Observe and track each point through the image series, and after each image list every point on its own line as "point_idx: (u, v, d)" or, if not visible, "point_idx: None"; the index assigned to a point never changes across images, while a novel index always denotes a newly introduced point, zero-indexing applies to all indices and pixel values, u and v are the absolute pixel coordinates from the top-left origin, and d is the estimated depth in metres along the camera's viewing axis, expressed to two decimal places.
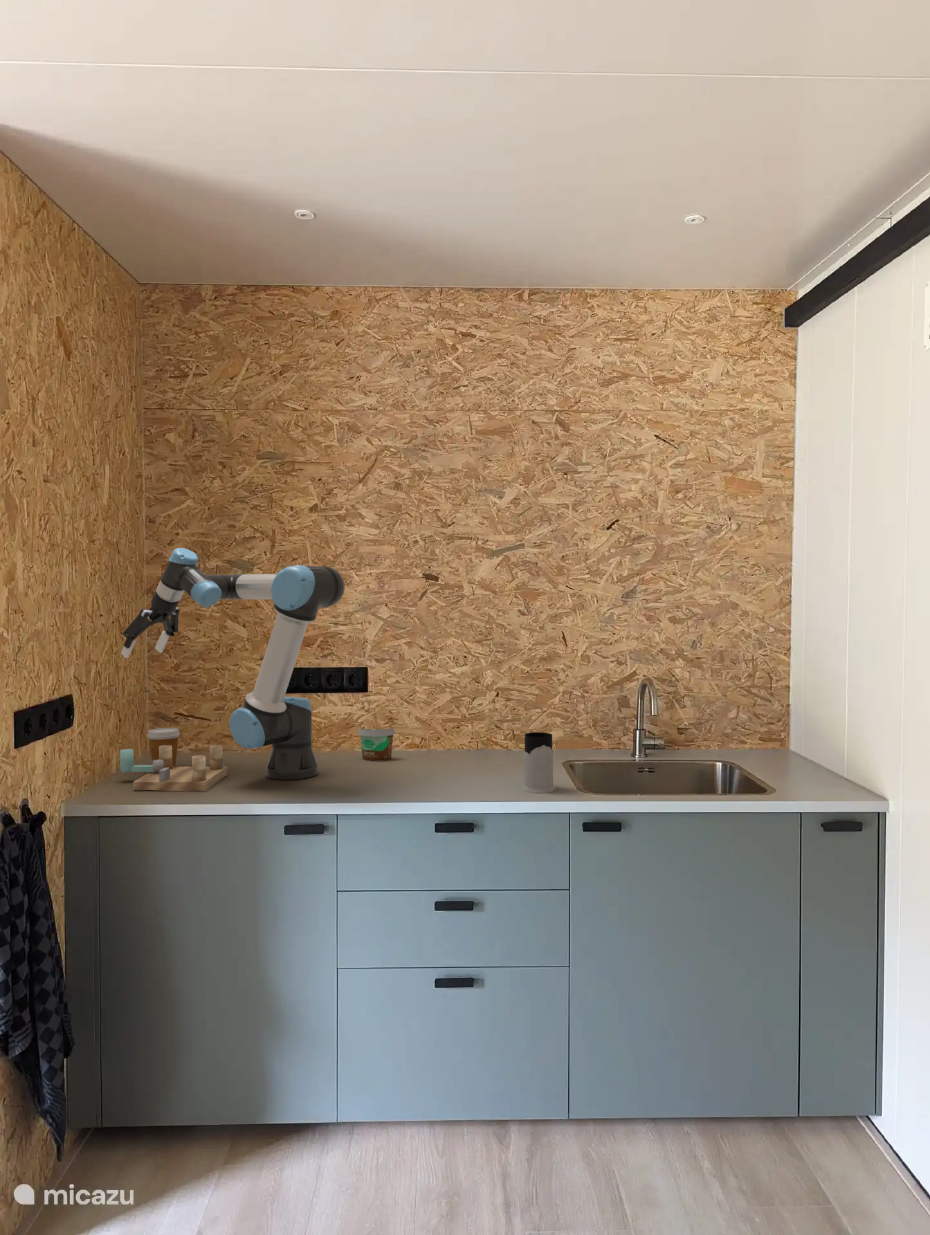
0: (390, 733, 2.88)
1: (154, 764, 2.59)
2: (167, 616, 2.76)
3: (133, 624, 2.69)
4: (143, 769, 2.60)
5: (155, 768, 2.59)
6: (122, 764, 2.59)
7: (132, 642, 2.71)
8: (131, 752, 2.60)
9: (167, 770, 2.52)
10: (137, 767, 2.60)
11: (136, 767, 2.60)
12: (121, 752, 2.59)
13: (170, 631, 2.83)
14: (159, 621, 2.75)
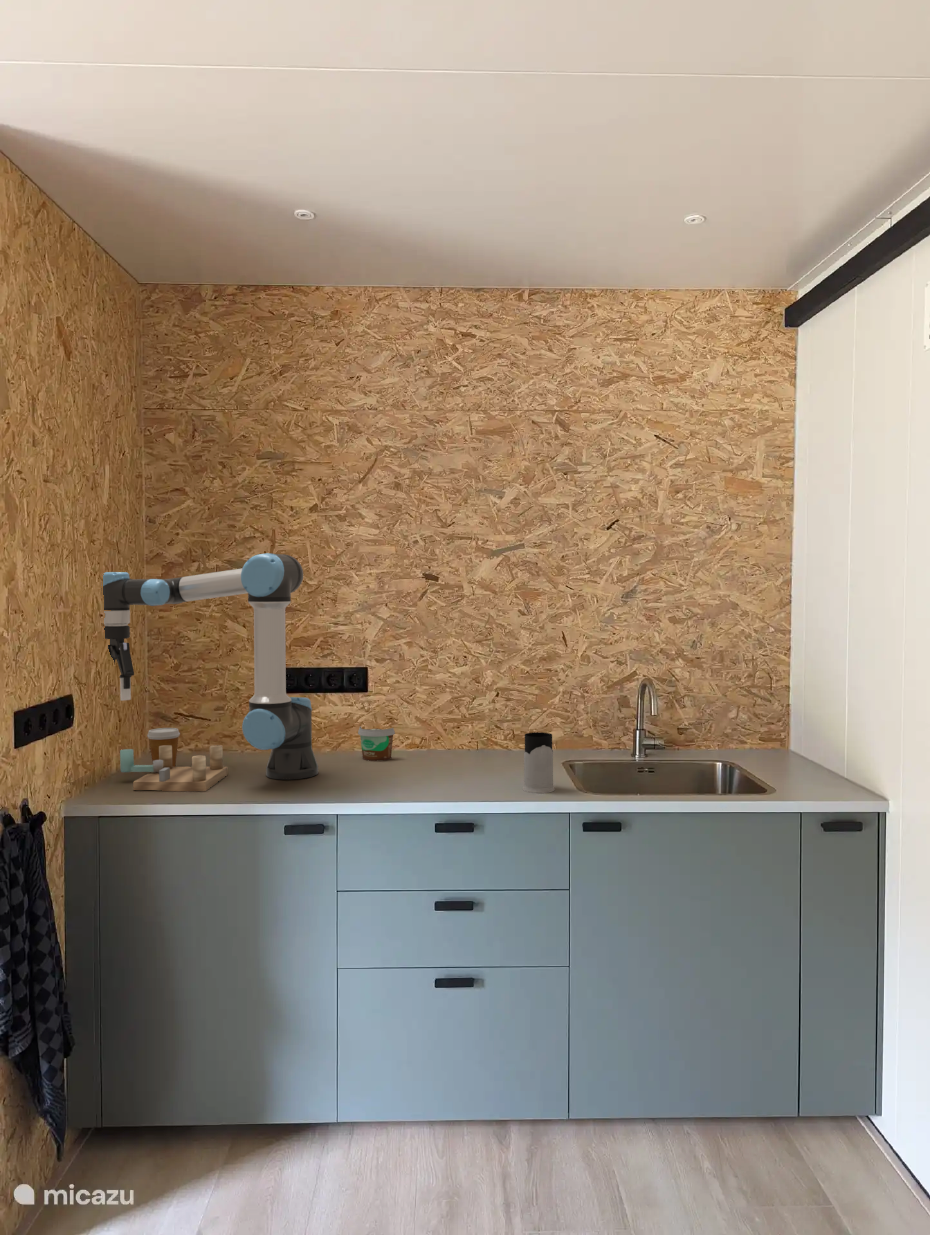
0: (390, 733, 2.88)
1: (154, 764, 2.59)
2: None
3: (126, 660, 2.59)
4: (143, 769, 2.60)
5: (155, 768, 2.59)
6: (122, 764, 2.59)
7: None
8: (131, 752, 2.60)
9: (167, 770, 2.52)
10: (137, 767, 2.60)
11: (136, 767, 2.60)
12: (121, 752, 2.59)
13: None
14: None
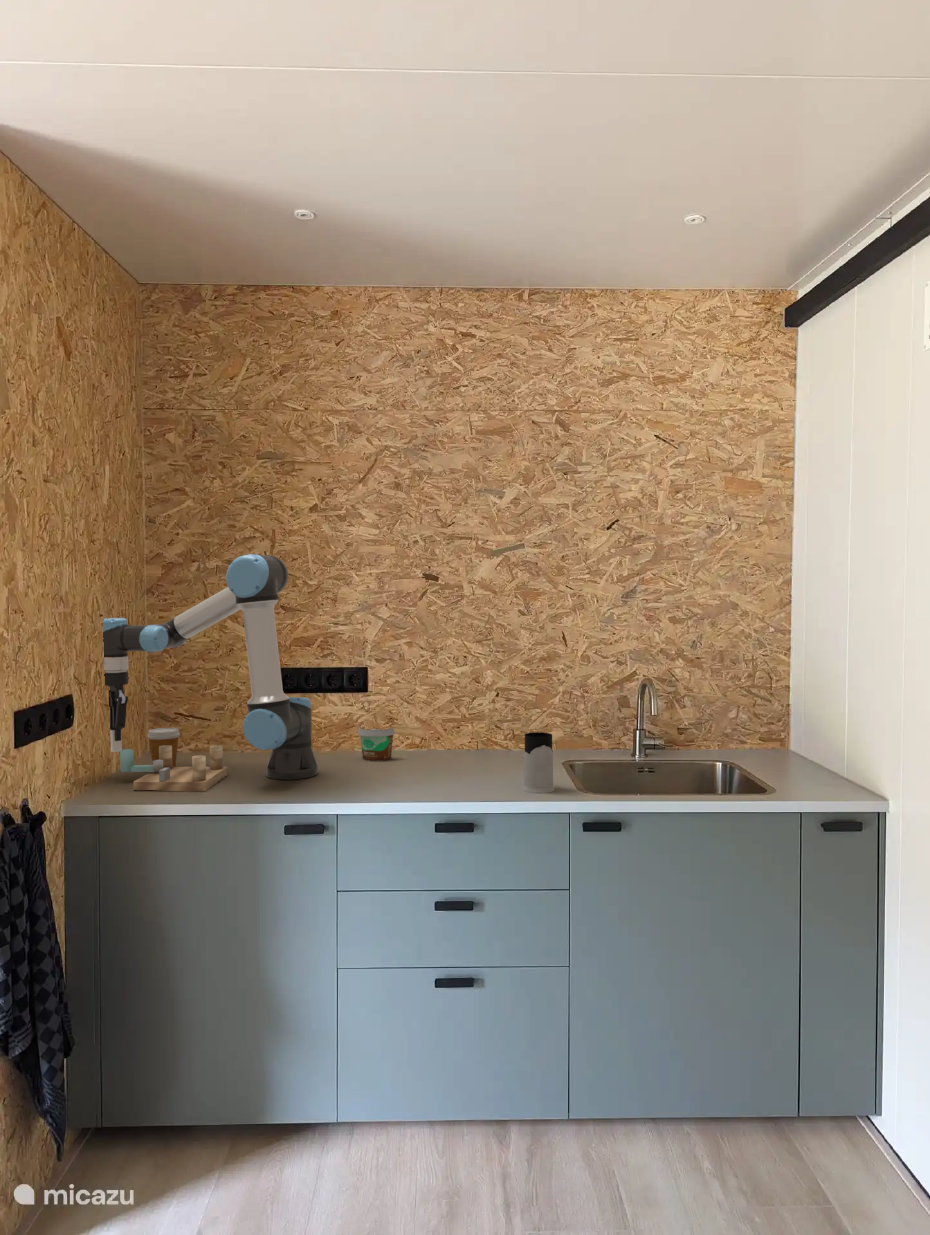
0: (390, 733, 2.88)
1: (154, 764, 2.59)
2: None
3: (120, 714, 2.62)
4: (143, 769, 2.60)
5: (155, 768, 2.59)
6: (122, 764, 2.59)
7: None
8: (131, 752, 2.60)
9: (167, 770, 2.52)
10: (137, 767, 2.60)
11: (136, 767, 2.60)
12: (121, 752, 2.59)
13: None
14: None
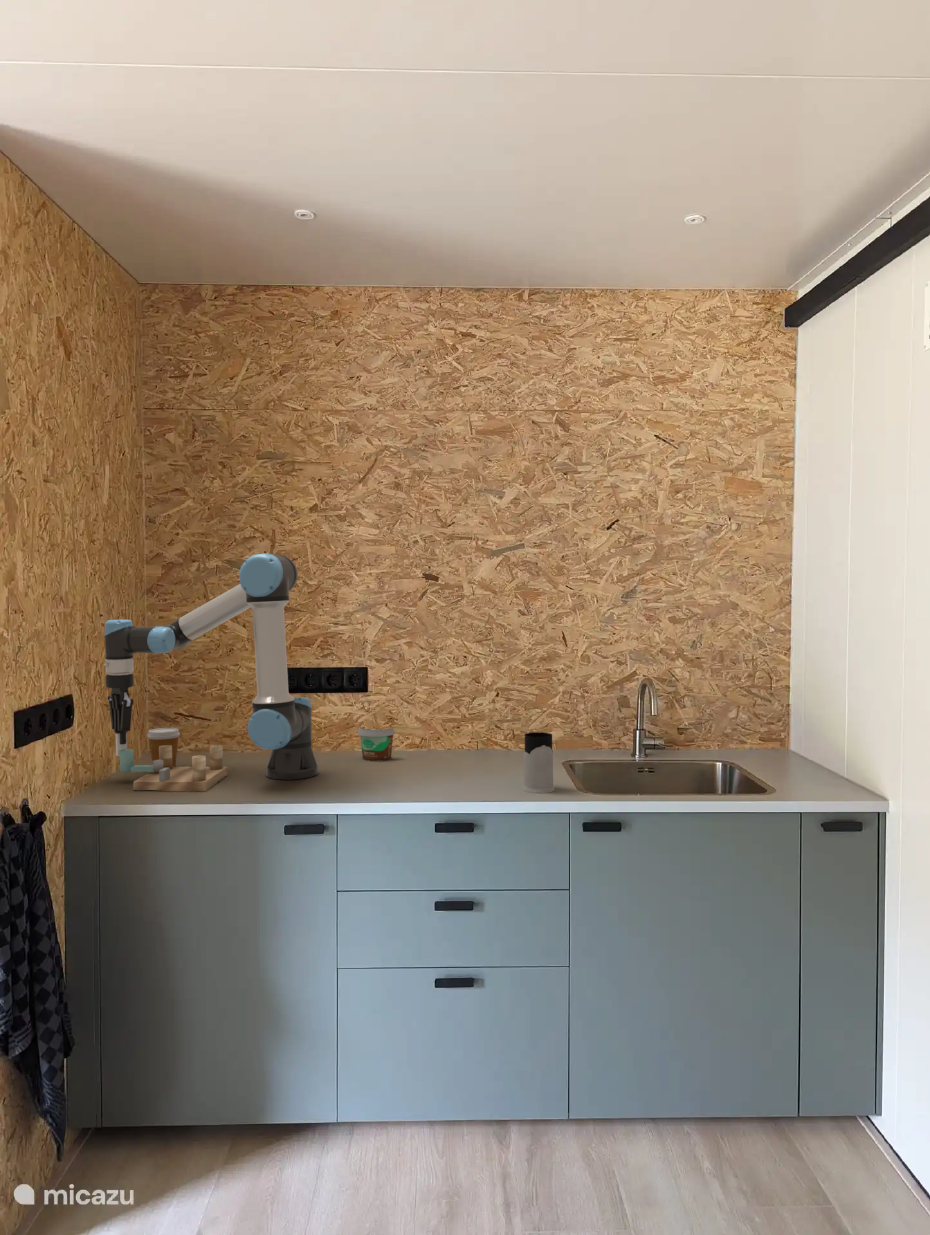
0: (390, 733, 2.88)
1: (154, 764, 2.59)
2: None
3: (125, 717, 2.58)
4: (143, 769, 2.60)
5: (155, 768, 2.59)
6: (122, 764, 2.59)
7: None
8: (131, 752, 2.60)
9: (167, 770, 2.52)
10: (137, 767, 2.60)
11: (136, 767, 2.60)
12: (121, 752, 2.59)
13: None
14: None
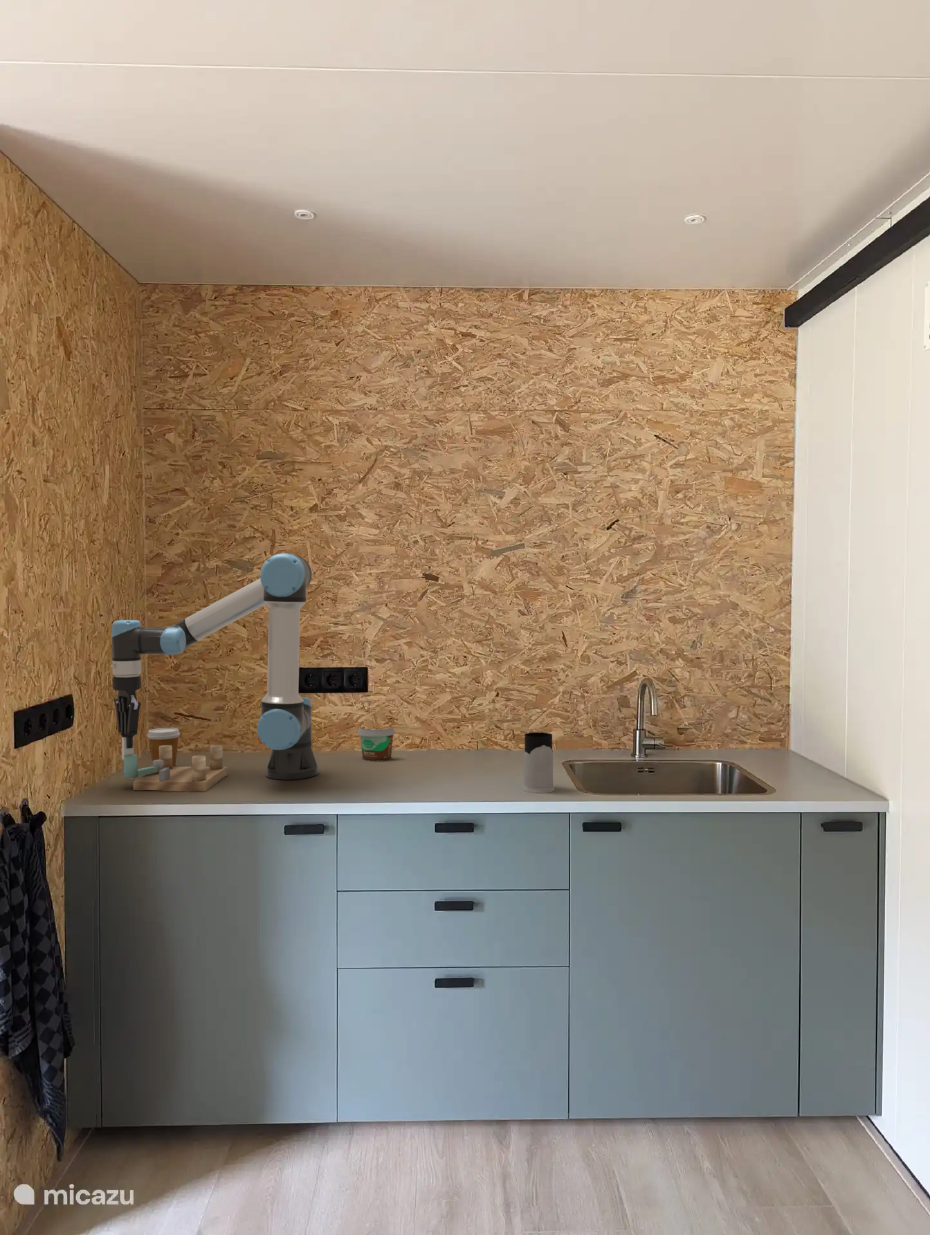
0: (390, 733, 2.88)
1: (159, 764, 2.59)
2: None
3: (132, 721, 2.51)
4: (148, 771, 2.57)
5: (160, 767, 2.60)
6: (132, 770, 2.52)
7: None
8: None
9: (167, 770, 2.52)
10: (143, 770, 2.55)
11: (142, 770, 2.55)
12: (131, 757, 2.51)
13: None
14: None
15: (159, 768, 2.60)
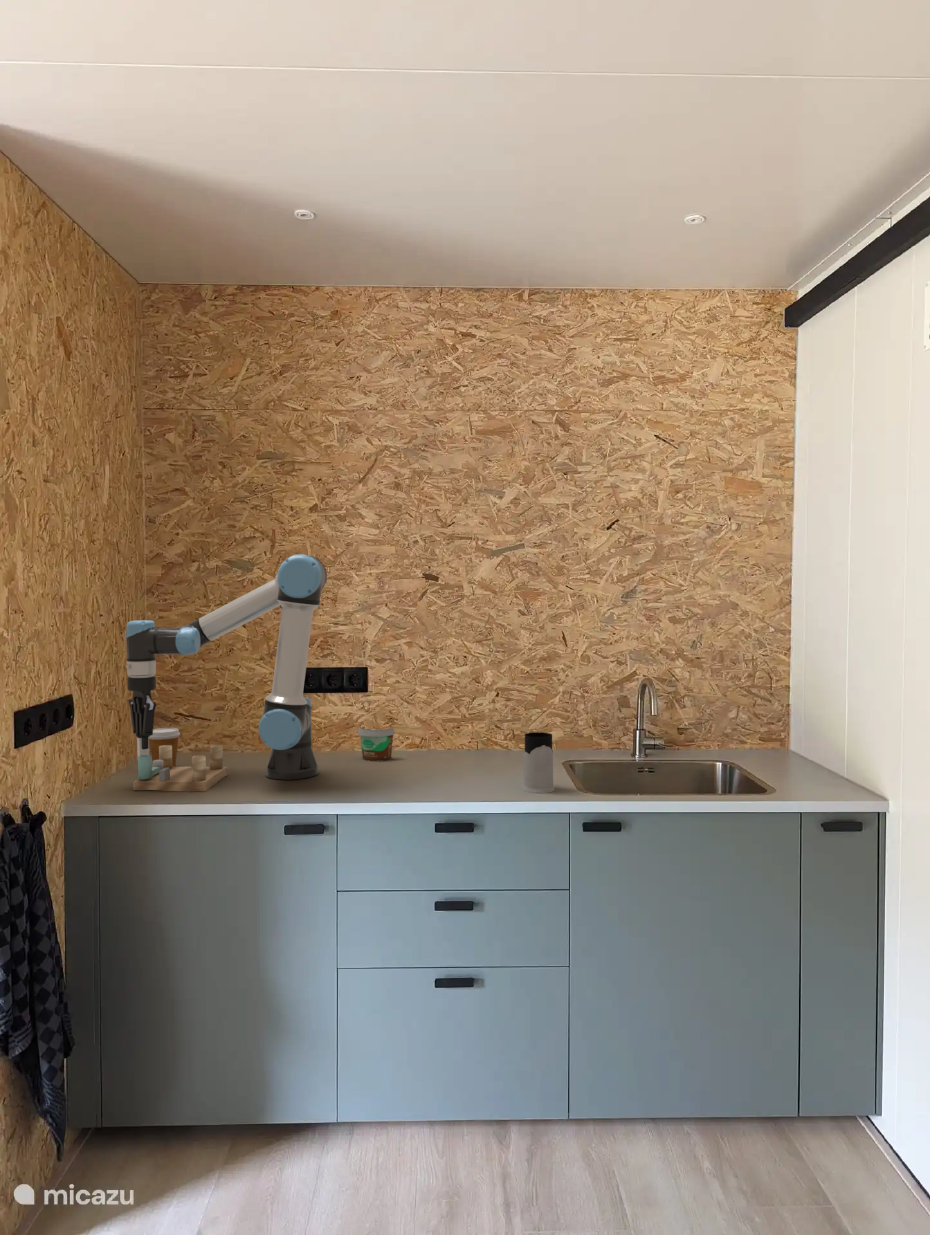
0: (390, 733, 2.88)
1: (161, 764, 2.60)
2: None
3: (148, 721, 2.50)
4: (156, 771, 2.57)
5: (162, 767, 2.60)
6: (149, 770, 2.51)
7: None
8: None
9: (167, 770, 2.52)
10: (153, 771, 2.55)
11: (153, 771, 2.55)
12: (148, 758, 2.50)
13: None
14: None
15: (161, 768, 2.60)
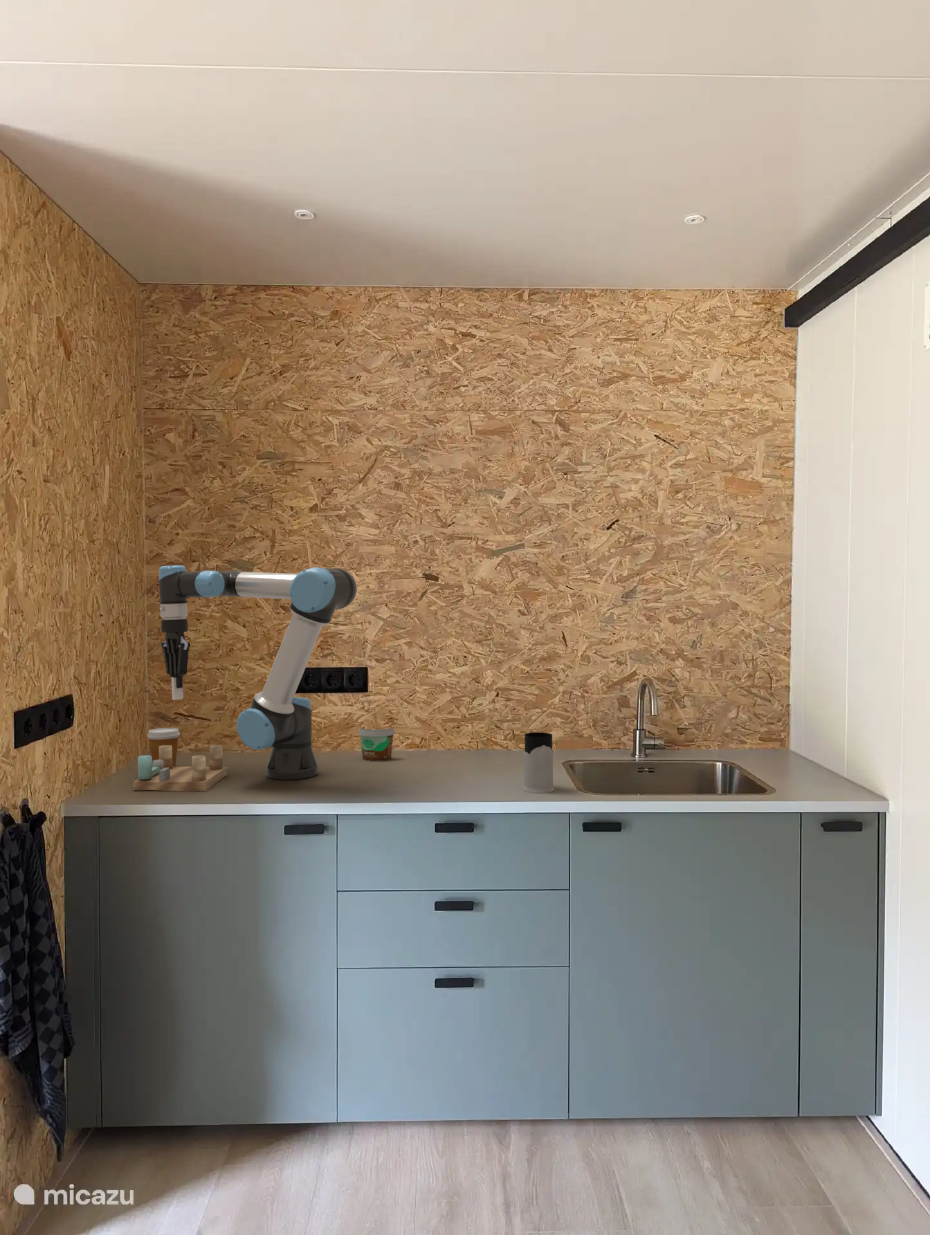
0: (390, 733, 2.88)
1: (161, 764, 2.60)
2: None
3: (182, 661, 2.62)
4: (156, 771, 2.57)
5: (162, 767, 2.60)
6: (149, 770, 2.51)
7: None
8: None
9: (167, 770, 2.52)
10: (153, 771, 2.55)
11: (153, 771, 2.55)
12: (148, 758, 2.50)
13: None
14: None
15: (161, 768, 2.60)
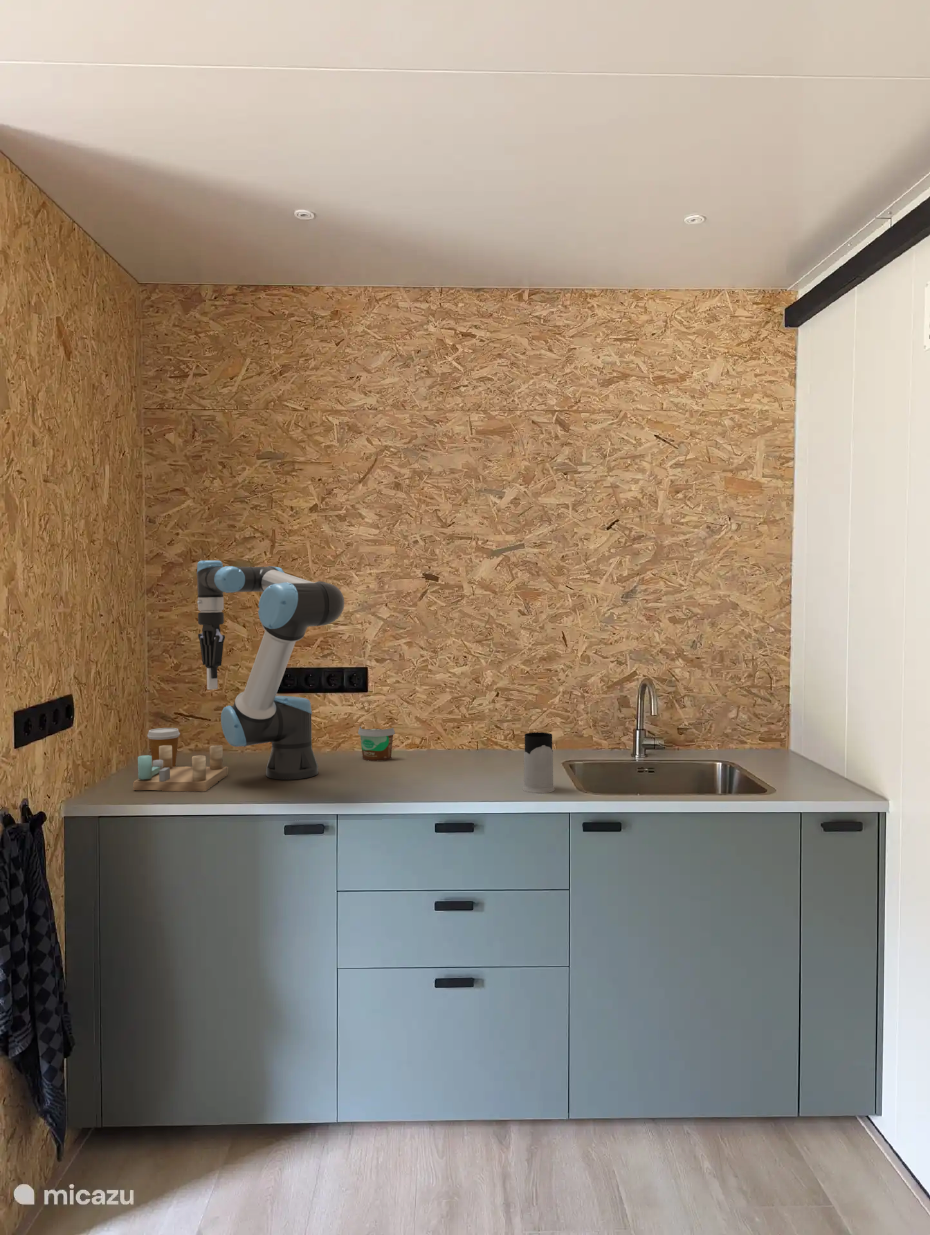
0: (390, 733, 2.88)
1: (161, 764, 2.60)
2: None
3: (217, 652, 2.73)
4: (156, 771, 2.57)
5: (162, 767, 2.60)
6: (149, 770, 2.51)
7: None
8: None
9: (167, 770, 2.52)
10: (153, 771, 2.55)
11: (153, 771, 2.55)
12: (148, 758, 2.50)
13: None
14: None
15: (161, 768, 2.60)
